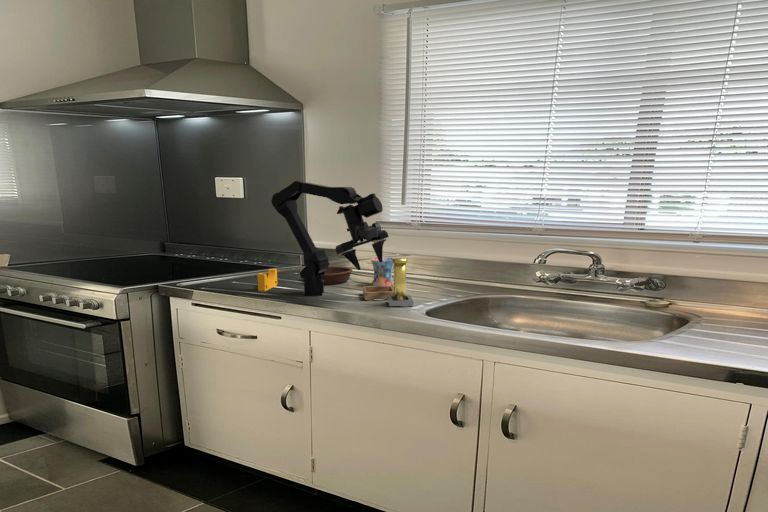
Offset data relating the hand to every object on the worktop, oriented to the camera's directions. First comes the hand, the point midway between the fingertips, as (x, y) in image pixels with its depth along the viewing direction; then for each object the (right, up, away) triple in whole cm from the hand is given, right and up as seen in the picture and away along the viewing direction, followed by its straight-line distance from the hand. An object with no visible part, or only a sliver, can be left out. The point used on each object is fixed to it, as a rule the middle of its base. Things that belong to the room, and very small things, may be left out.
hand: (370, 266), depth 174 cm
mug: (+5, -8, +25) cm, 27 cm away
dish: (-17, -7, +34) cm, 38 cm away
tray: (+3, -11, +6) cm, 13 cm away
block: (+10, -12, -5) cm, 17 cm away
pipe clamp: (-40, -9, +21) cm, 46 cm away
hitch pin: (+10, -12, -5) cm, 17 cm away
